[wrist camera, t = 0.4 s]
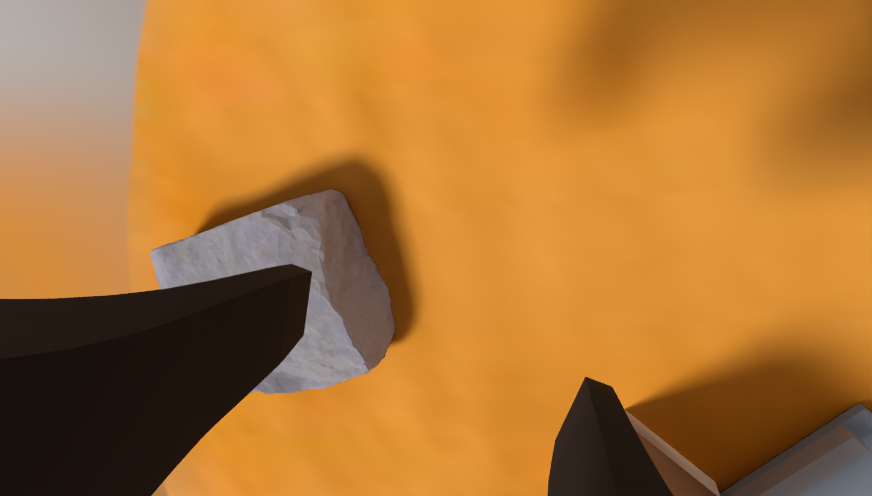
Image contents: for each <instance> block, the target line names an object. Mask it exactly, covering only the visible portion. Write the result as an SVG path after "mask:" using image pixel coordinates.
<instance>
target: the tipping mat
mask: <svg viewBox="0 0 872 496" xmlns="http://www.w3.org/2000/svg"><path fill="white" fill-rule="evenodd" d="M720 496H872V412H871V411H869V410H868V409H867V408H865V407H864V406H863V405H861V404H860V403H858V404H856V405H855V406H853V407H852V408H850V409H849V410H847V411H846V412H844V413H842V414H841V415H839V416H838V417H836V418H835V419H833V420H832V421H830V422H829V423H827V424H826V425H824V426H823V427H821V428H819V429H818V430H816V431H815V432H813V433H812V434H810V435H809V436H807V437H806V438H804V439H803V440H801V441H800V442H798V443H796V444H795V445H793V446H792V447H790V448H789V449H787V450H786V451H784V452H783V453H781V454H780V455H778V456H777V457H775V458H773V459H772V460H770V461H769V462H767V463H766V464H764V465H763V466H761V467H760V468H758V469H757V470H755V471H754V472H752V473H751V474H749V475H747V476H746V477H744V478H743V479H741V480H740V481H738V482H737V483H735V484H734V485H732V486H731V487H729V488H728V489H726V490H724V491H723V492H721V493H720Z"/></svg>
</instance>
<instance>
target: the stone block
mask: <svg viewBox="0 0 872 496" xmlns="http://www.w3.org/2000/svg"><path fill="white" fill-rule="evenodd" d="M150 257H151V260H152V262H153V264H154V268H155V274H156V278H157V281H158V283H159V288H160V289H166V288H172V287H178V286H183V285H188V284H194V283H199V282H205V281H210V280H215V279H220V278H224V277H229V276H233V275H238V274H242V273H247V272H251V271H256V270H260V269H265V268H270V267H275V266H280V265H287V264H294V265H297V266H299V267H302V268H304V269H307V270H310V271H312V278H311V285H310V293H309V300H308V308H307V315H306V323H305V330H304V335H303V337H302V338H301V339H300V341H299V342H298V343H297V344H296V346H295V347H294V348H293V349H292V351H291V352H290V353H289V354H288V355H287V357H286V358H285V359H284V360H283V361H282V362H281V364H280V365H279V366H278V367H277V368H276V369H274V370H273V371H272V372H271V373H270V374H269V375H268V376H267V377H266V378H265V379H264V380H263V381H262V382H261V383H260V384H259V385H258V386H256V387H255V388H254V389H253V390H252V391H251V392H250V393H252V392H254V391H260V392H263V393H266V394H284V393H294V392H299V391H306V390H307V389H324V388H326V387H330V386H333V385H335V384H337V383H339V382H340V381H344V382H346V381H348V380H349V379H351V378H354V377H357V376H360V375H363V374H366V373H369V372H371V370H372V369H373V368H374V367H376V366H377V365H378V364H379V363H380V361H381V360H382V359H383V358H384V357H385V353H386V352H387V349H388V347H389V345H390V344H391V340H392V337H393V335H394V333H395V322H394V319H393V315H392V309H391V298H390V296H389V291H388V287H387V286H386V285H385V283H384V281H383V279H382V278H381V276H380V274H379V272H378V270H377V266H376V264H375V263H374V262H373V261H372V259H371V258H370V257H369V255H368V253H367V250H366V247H365V245H364V240H363V236H362V234H361V230H360V227H359V226H358V224H357V222H356V220H355V218H354V216H353V214H352V212H351V210H350V208H349V205H348V202H347V200H346V198H345V196H344V195H343V194H342V193H341V192H339V191H337V190H334V189H328V190H325V191H322V192H318V193H313V194H310V195H304V196H301V197H298V198H295V199H292V200H288V201H285V202H283V203H280V204H277V205H274V206H272V207H269V208H266V209H263V210H260V211H257V212H254V213H251V214H248V215H246V216H243V217H240V218H237V219H235V220H232V221H229V222H227V223H225V224H222V225H220V226H217V227H215V228H213V229H210V230H207V231H205V232H202V233H199V234H196V235H193V236H190V237H188V238H185V239H182V240H179V241H176V242H172V243H169V244H166V245H163V246H161V247H158V248H155V249H153V250H152V251H151V255H150ZM250 393H249V394H250Z"/></svg>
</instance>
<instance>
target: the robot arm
mask: <svg viewBox="0 0 872 496" xmlns="http://www.w3.org/2000/svg"><path fill="white" fill-rule="evenodd" d="M311 278H312V271H310V270H307V269H304V268H302V267H299V266H297V265H294V264H287V265H280V266H275V267H270V268H265V269H260V270H256V271H251V272H247V273H242V274H238V275H233V276H229V277H224V278H220V279H215V280H210V281H205V282H199V283H194V284H188V285H183V286H178V287H172V288H166V289H160V290H153V291H145V292H137V293H128V294H119V295H109V296H93V297H75V298H58V299H0V496H151V495H152V494H153V493H154V492H155V491H156V489H157V488H158V487H159V486H160V485H161V484H162V482H163V481H164V480H165V479H166V478H167V476H168V475H169V474H170V473H171V472H172V471H173V470H174V468H175V467H176V466H177V465H178V464H179V463H180V462H181V461H182V459H183V458H184V457H185V456H186V455H187V454H188V453H189V452H190V450H191V449H192V448H193V447H194V446H195V445H196V444H197V443H198V441H199V440H200V439H201V438H202V437H203V436H204V435H205V434H206V433H207V432H208V431H209V430H210V429H211V428H212V427H213V426H214V425H215V424H216V423H217V422H219V421H220V420H221V419H222V418H223V417H224V416H225V415H226V414H227V413H228V412H229V411H230V410H232V409H233V408H234V407H235V406H236V405H237V404H238V403H239V402H240V401H241V400H242V399H243V398H245V397H246V396H247V395H248V394H249V393H250V392H251V391H252V390H253V389H254V388H255V387H256V386H258V385H259V384H260V383H261V382H262V381H263V380H264V379H265V378H266V377H267V376H268V375H269V374H270V373H271V372H272V371H273V370H274V369H276V368H277V367H278V366H279V365H280V364H281V362H282V361H283V360H284V359H285V358H286V357H287V355H288V354H289V353H290V352H291V351H292V349H293V348H294V347H295V346H296V344H297V343H298V342H299V341H300V339H301V338H302V337H303V335H304V330H305V323H306V315H307V308H308V300H309V293H310V285H311ZM548 496H674V495H673V494H672V492H671V491H670V489H669V488H668V486H667V485H666V483H665V481H664V480H663V478H662V476H661V475H660V473H659V471H658V470H657V468H656V466H655V465H654V463H653V461H652V460H651V458H650V456H649V454H648V453H647V451H646V449H645V447H644V446H643V444H642V442H641V440H640V438H639V436H638V435H637V433H636V431H635V429H634V427H633V425H632V423H631V422H630V420H629V418H628V416H627V414H626V412H625V410H624V408H623V406H622V404H621V402H620V401H619V399H618V397H617V395H616V393H615V391H614V389H613V388H612V387H611V386H608V385H606V384H603V383H601V382H598V381H595V380H593V379H590V378H588V377H585V379H584V381H583V383H582V385H581V387H580V389H579V392H578V394H577V396H576V398H575V400H574V402H573V404H572V406H571V408H570V410H569V412H568V415H567V417H566V419H565V421H564V423H563V425H562V427H561V429H560V431H559V433H558V435H557V438H556V440H555V445H554V451H553V456H552V462H551V469H550V475H549V483H548Z"/></svg>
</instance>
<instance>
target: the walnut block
mask: <svg viewBox="0 0 872 496" xmlns="http://www.w3.org/2000/svg"><path fill="white" fill-rule="evenodd" d="M624 410H625V409H624ZM625 412H626V414H627V416H628V418H629V420H630V422H631V423H632V425H633V427H634V429H635V431H636V433H637V435H638V436H639V438H640V440H641V442H642V444H643V446H644V447H645V449H646V451H647V453H648V454H649V456H650V458H651V460H652V461H653V463H654V465H655V466H656V468H657V470H658V471H659V473H660V475H661V476H662V478H663V480H664V481H665V483H666V485H667V486H668V488H669V489H670V491H671V492H672V494H673V495H674V496H720V494H719V491H718V488H717V485H716V482H715V481H714V480H712V479H711V478H710V477H709V476H707V475H706V474H705V473H704V472H702V471H701V470H700V469H699V468H697V467H696V466H695V465H694V464H692V463H691V462H690V461H689V460H687V459H686V458H685V457H684V456H682V455H681V454H680V453H679V452H677V451H676V450H675V449H674V448H672V447H671V446H670V445H669V444H667V443H666V442H665V441H664V440H662V439H661V438H660V437H659V436H657V435H656V434H655V433H654V432H652V431H651V430H650V429H649V428H647V427H646V426H645V425H644V424H642V423H641V422H640V421H639V420H637V419H636V418H635V417H634V416H632V415H631V414H630V413H629V412H627V411H626V410H625Z"/></svg>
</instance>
